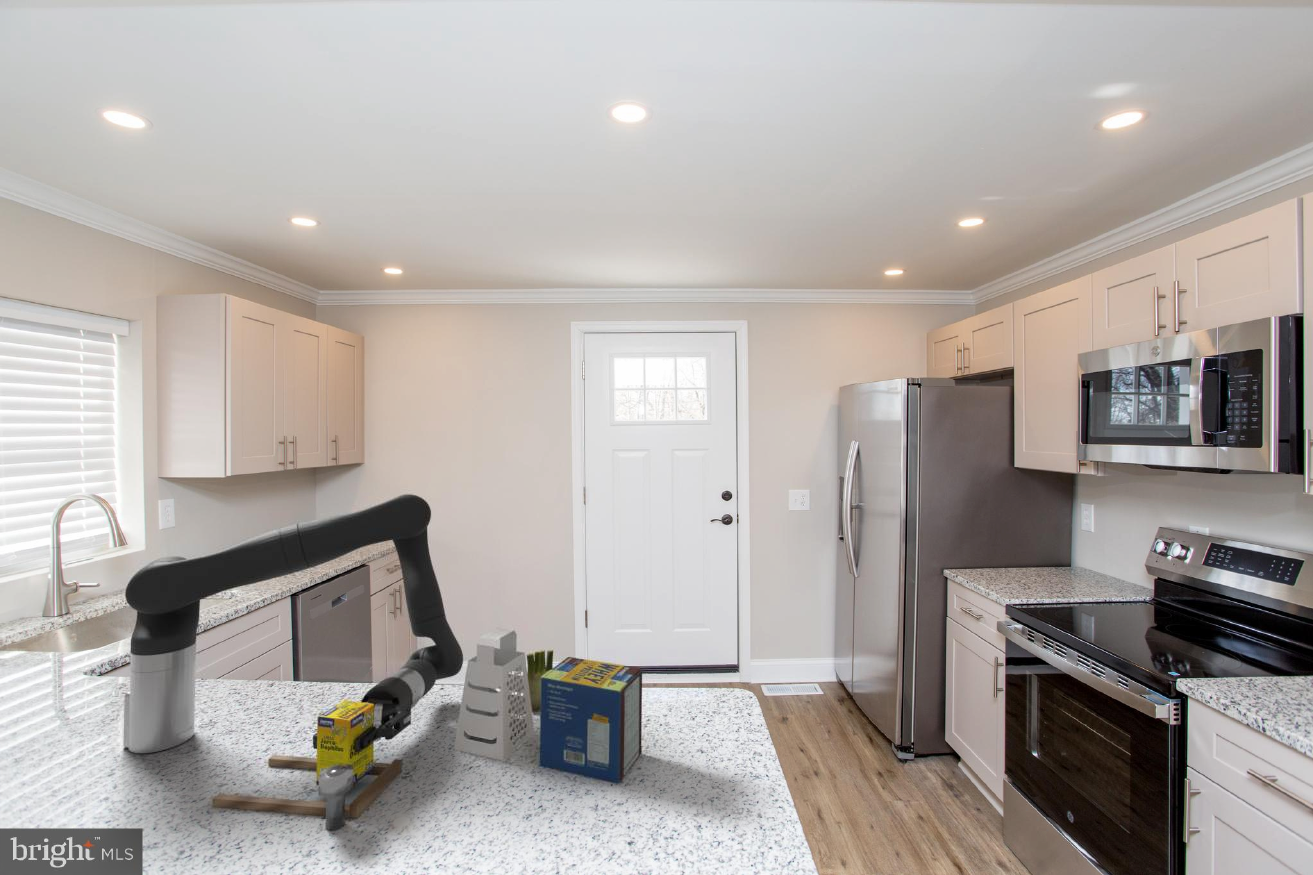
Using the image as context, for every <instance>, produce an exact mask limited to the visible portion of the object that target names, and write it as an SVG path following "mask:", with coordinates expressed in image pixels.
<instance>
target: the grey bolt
mask: <svg viewBox="0 0 1313 875" xmlns="http://www.w3.org/2000/svg"><path fill="white" fill-rule="evenodd" d="M352 787H353V766H352V765H350V764H337V765H333V766H330V767H328V768H326V769H324V770H323V771H321V772H320V774H319V786H318V787H317V788H318V790H317V791H318V794H319V796H321V797H324V798H326V816H325V830H326V831H328V832H332V831H333V832H334V831H337V830H341V829H342V827H344V825H345V821H346V820H345V819H346V818H345V793H347V792H348V791H349V790H351V788H352Z"/></svg>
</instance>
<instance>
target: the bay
mask: <svg viewBox="0 0 1313 875" xmlns="http://www.w3.org/2000/svg"><path fill="white" fill-rule="evenodd" d="M267 765H268V767H269V766H270V767H280V768H293V769H307V770H317V757H309V756H308V757H305V756H293V755H292V756H291V755H283V754H282V755H280V754H273V755H272V756H270V757H269V758H268V763H267ZM402 767H403V760H402V759H400V758H399V759H398V758H395V759H394V760H393V761H391V762H390V763H388V762H374V761H373V770H372V771H371V772H370V773H369V774H367V775H365V776H364V777H363V778H362V779H360V780H359V781H358V782H357V783H355V784H354V785H353V787H352V788H351V790H349V791H348V792H347V793H345V819H358V818H359V817H360V816H361V815H362V814H363V813H364V812H365V811H366V810H367V809H368V808H369V807H370V806H371V805H372V803H373V802H375V800H377V798H378V797H379V796H380V795H381V794H382V793H383V792H384V791H385V790H386V789H387V788H388V786H390V785H391V783H393V781H395V779H396V778H397V777H398V776H399V775H400V774H401V773H402V772H403V768H402ZM211 801H212V802H211V803H212V806H211V807H215V808H216V807H217V808H227V809H238V810H240V809H241V810H250V811H251V810H252V811H263V812H273V813H287V814H297V815H308V816H309V815H310V816H320V817H322V816H323V817H326V798H324V797H321V796H319V794H318V790H316V791H315V792H314V793H313V794H312V795H310V796H309V797H308V798H307V799H306V800H301V799H299V800H298V799H288V798H276V797H264V796H253V795H250V796H248V795H241V794H238V795H237V794H226V793H218V794H216V796H214V797H212V799H211Z"/></svg>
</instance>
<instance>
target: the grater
mask: <svg viewBox="0 0 1313 875" xmlns="http://www.w3.org/2000/svg"><path fill="white" fill-rule="evenodd" d="M517 636H518V635H517V632H516V631H515V630H514V629H507V628H506V629H505V628H500V627H499V628H498V627H497V628H495V629H493V630H491V631H489V632H487V633H485V634H483V635H482V636H481V635H480V636H479V639H478V641H477V644H476V656H473V657H472V658H470V659H469V660H467V665H466V672H465V678H464V685H463V689H462V696H461V703H460V709H459V716H458V719H457V720H458V722H457V728H456V733H455V740H454V747H453V750H454V749H455V750H454V751H459V752H462V751H463V753H466V754H467V753H468V754H472V755H476V756H480V757H484V758H490V759H493V760H499V761H502V762H503V761H505V760H506V759H508V757H509V756H510V755H512V754H513V753H514V752H515V751H516V750H517V749H519V748H521V746H522V745H523V744H525V742H527V741H528V740H529V739H530V738H531V737H532V736H533V735H534V734H535V733H536V732H535V724H534V723H535V722H534V718H533V716H534V715H533V710H532V707H531V699H530V691H529V683H528V675H527V673H528V667H527V662H526V661H527V658H526V654H525V652H523V651H517V641H518V640H517ZM498 640H499V648H497V647H495V646H496V644H497V641H498ZM513 673H514V674H513ZM497 689H499V691H498V690H497ZM521 694H522V695H521ZM521 716H522V717H521ZM513 729H514V731H513ZM518 731H519V733H518ZM515 733H516V735H515ZM524 733H525V735H524ZM521 735H522V737H521ZM471 737H475V738H480V739H484V740H490V741H493V740H495V739H496V742H495V743H487V742H482V741H477V740H473V739H470V738H471ZM511 737H512V739H511ZM517 739H518V741H517ZM514 742H515V743H514Z"/></svg>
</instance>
